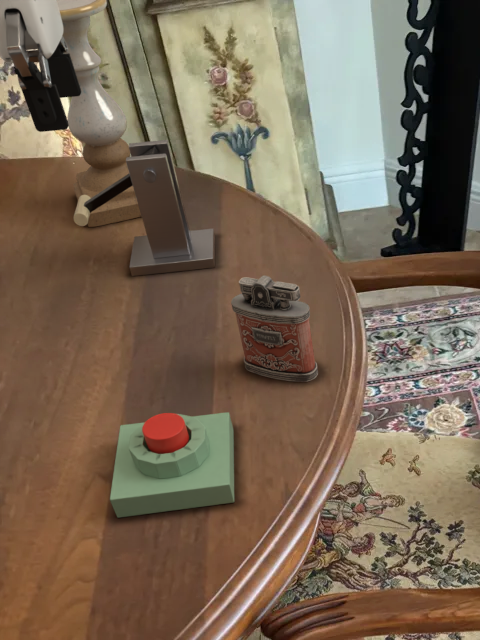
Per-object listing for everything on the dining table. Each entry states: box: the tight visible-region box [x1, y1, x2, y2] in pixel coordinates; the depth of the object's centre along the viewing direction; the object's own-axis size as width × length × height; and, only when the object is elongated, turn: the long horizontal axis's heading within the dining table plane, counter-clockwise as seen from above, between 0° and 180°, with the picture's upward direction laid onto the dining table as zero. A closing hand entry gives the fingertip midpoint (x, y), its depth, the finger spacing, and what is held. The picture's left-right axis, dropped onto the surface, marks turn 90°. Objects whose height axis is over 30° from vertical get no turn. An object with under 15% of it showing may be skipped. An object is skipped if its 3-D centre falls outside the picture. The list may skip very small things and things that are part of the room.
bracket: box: [126, 139, 216, 277], centre depth 93 cm, size 10×8×13 cm
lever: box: [73, 147, 160, 227], centre depth 91 cm, size 12×5×2 cm, turn 99°
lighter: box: [230, 274, 319, 383], centre depth 77 cm, size 8×3×10 cm, turn 70°
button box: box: [109, 411, 235, 519], centre depth 69 cm, size 10×10×4 cm
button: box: [142, 412, 189, 454], centre depth 68 cm, size 4×4×2 cm
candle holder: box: [56, 0, 142, 228], centre depth 100 cm, size 11×11×24 cm
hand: (60, 112), depth 83 cm, fingers open, 9 cm apart
